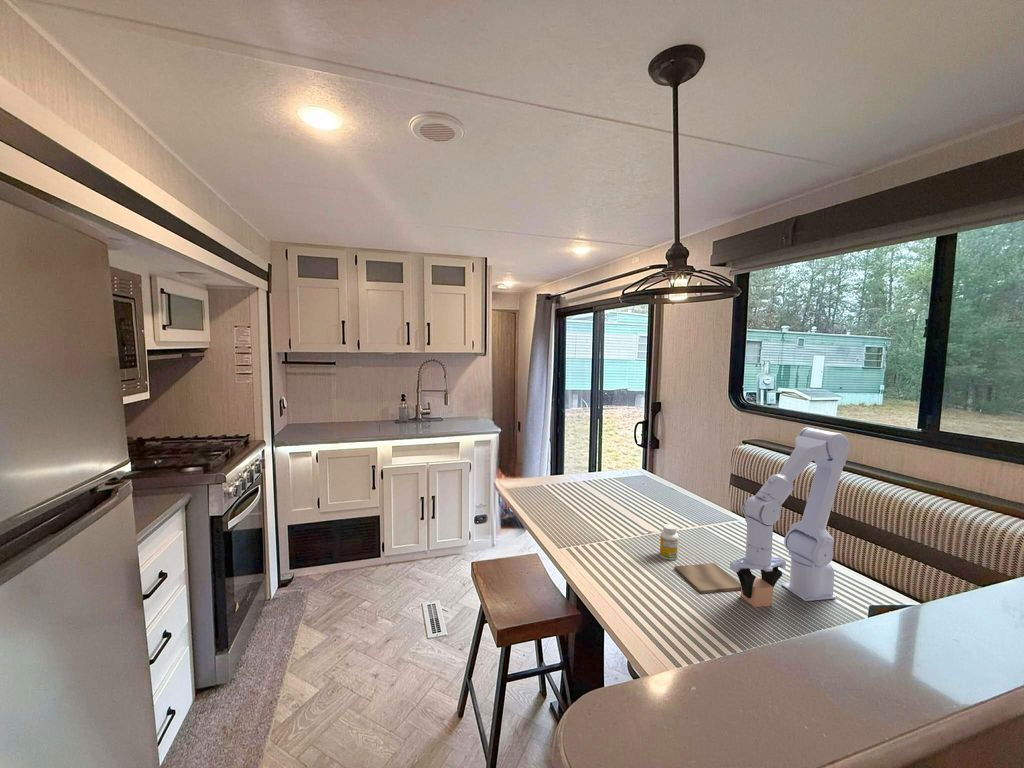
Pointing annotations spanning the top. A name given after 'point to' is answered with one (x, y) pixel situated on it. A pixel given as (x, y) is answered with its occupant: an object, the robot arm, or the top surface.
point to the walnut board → (708, 578)
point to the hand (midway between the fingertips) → (756, 595)
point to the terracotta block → (760, 593)
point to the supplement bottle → (669, 542)
